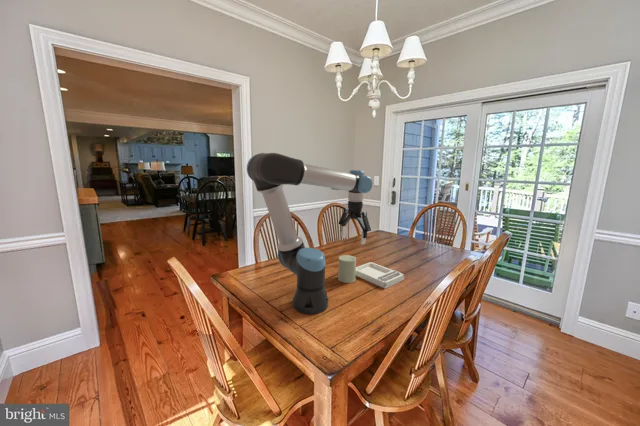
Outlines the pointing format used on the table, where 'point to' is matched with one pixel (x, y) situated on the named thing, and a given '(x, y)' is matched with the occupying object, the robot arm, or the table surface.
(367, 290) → the table surface
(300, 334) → the table surface
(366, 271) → the rack
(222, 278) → the table surface
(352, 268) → the can
